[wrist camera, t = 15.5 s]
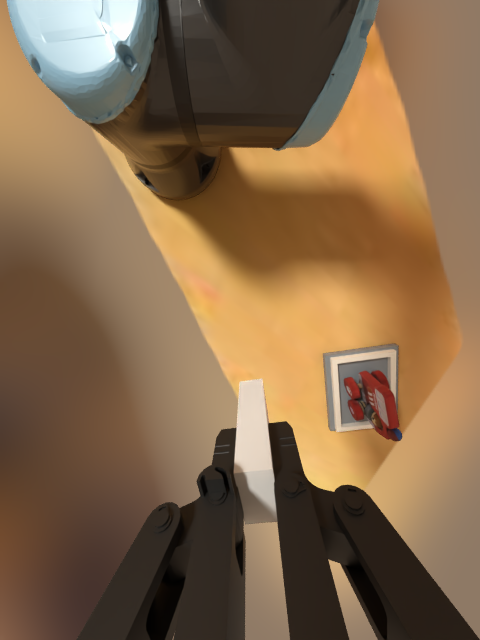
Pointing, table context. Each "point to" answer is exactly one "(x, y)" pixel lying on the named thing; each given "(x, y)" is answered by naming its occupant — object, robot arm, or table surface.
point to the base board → (350, 366)
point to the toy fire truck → (374, 403)
